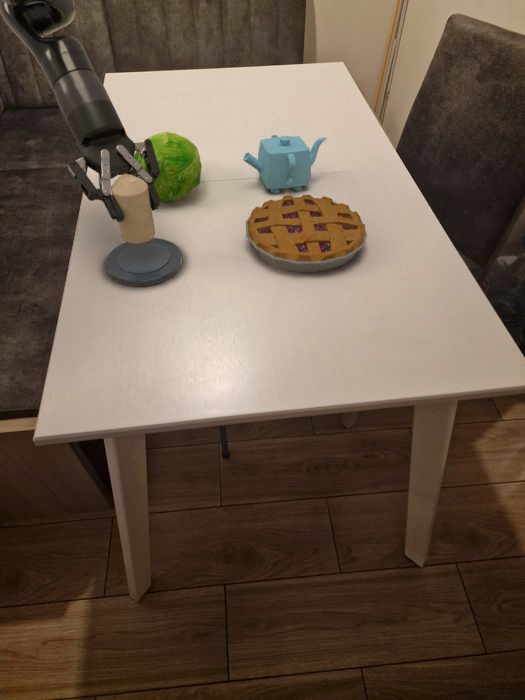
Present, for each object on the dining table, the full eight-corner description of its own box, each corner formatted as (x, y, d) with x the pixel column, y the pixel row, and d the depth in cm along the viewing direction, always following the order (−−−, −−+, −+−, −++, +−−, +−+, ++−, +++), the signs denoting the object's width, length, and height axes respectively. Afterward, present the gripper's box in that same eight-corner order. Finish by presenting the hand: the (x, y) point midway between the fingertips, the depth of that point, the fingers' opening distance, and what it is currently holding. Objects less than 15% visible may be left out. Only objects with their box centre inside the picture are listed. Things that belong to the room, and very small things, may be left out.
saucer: (103, 289, 79) (101, 283, 78) (110, 245, 88) (108, 239, 87) (183, 283, 81) (182, 276, 80) (181, 240, 90) (180, 234, 89)
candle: (162, 234, 81) (153, 177, 73) (135, 248, 78) (123, 190, 71) (142, 222, 83) (131, 166, 76) (115, 235, 80) (101, 177, 73)
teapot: (250, 202, 100) (250, 154, 93) (236, 172, 109) (234, 126, 102) (332, 192, 103) (338, 145, 96) (311, 164, 113) (315, 119, 105)
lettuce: (208, 168, 111) (204, 113, 102) (201, 213, 97) (195, 153, 88) (147, 167, 111) (138, 113, 102) (132, 212, 97) (120, 153, 88)
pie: (341, 207, 99) (344, 184, 95) (382, 270, 84) (387, 245, 80) (235, 218, 95) (235, 195, 92) (258, 286, 80) (259, 261, 77)
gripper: (43, 108, 68) (100, 221, 70) (136, 88, 74) (185, 192, 76) (42, 135, 74) (93, 236, 76) (127, 114, 81) (172, 208, 83)
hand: (139, 213), depth 76 cm, fingers closed on candle, 5 cm apart
